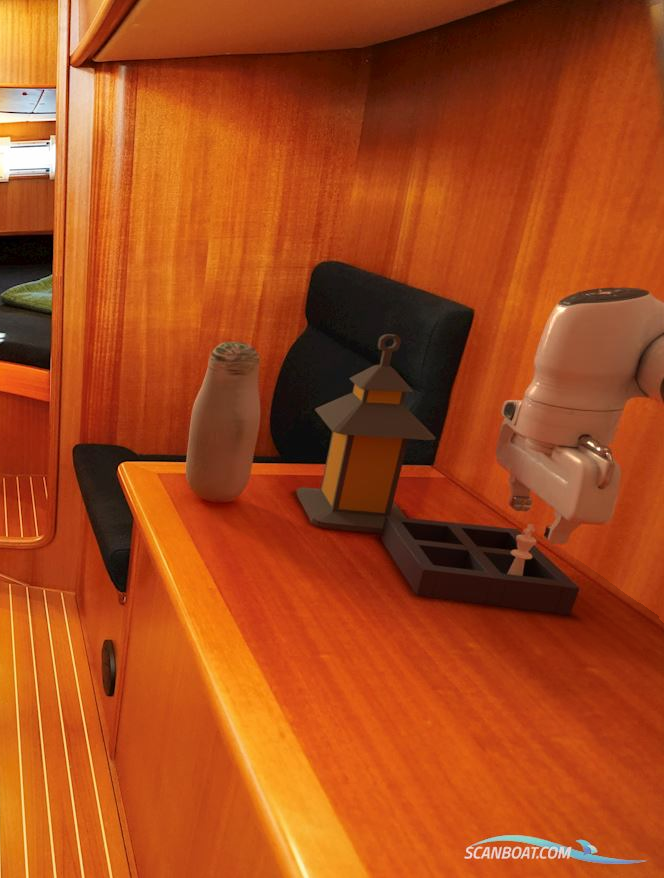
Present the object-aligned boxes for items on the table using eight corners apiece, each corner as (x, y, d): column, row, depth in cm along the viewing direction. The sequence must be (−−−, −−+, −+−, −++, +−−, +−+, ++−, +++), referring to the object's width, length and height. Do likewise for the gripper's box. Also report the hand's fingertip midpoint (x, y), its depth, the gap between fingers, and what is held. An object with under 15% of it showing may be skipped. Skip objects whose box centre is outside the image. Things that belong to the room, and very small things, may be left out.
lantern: (416, 537, 108) (466, 347, 97) (313, 526, 112) (351, 343, 102) (386, 499, 120) (428, 327, 110) (294, 491, 125) (326, 324, 114)
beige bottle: (170, 491, 126) (189, 339, 117) (219, 484, 129) (240, 333, 119) (207, 514, 117) (230, 351, 108) (258, 506, 120) (286, 345, 110)
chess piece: (477, 586, 95) (497, 520, 91) (500, 578, 96) (521, 513, 93) (519, 605, 91) (541, 536, 87) (542, 596, 92) (566, 529, 89)
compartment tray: (510, 553, 103) (517, 528, 101) (570, 615, 88) (580, 588, 87) (379, 538, 108) (385, 515, 106) (416, 595, 93) (423, 569, 92)
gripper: (654, 455, 75) (615, 567, 80) (555, 400, 93) (528, 495, 98) (580, 451, 77) (546, 560, 82) (497, 398, 95) (473, 490, 100)
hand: (535, 524), depth 90 cm, fingers open, 8 cm apart
